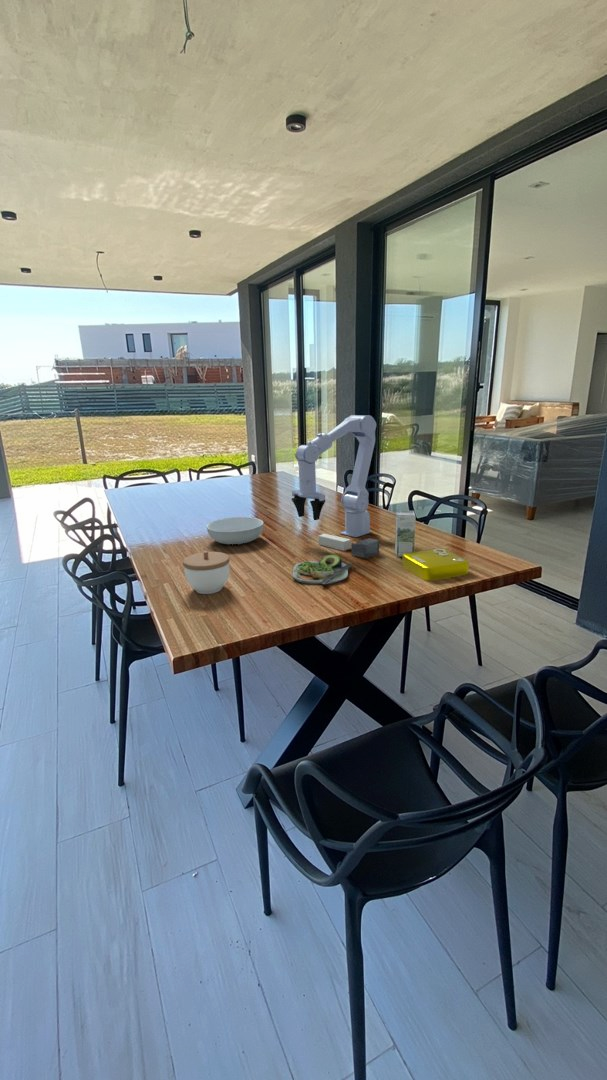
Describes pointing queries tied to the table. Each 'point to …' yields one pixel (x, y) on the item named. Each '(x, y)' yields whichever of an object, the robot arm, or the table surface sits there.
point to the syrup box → (404, 532)
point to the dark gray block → (365, 548)
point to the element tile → (435, 564)
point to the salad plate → (322, 570)
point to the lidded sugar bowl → (207, 571)
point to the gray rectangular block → (334, 542)
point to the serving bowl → (235, 530)
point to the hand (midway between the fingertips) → (308, 518)
